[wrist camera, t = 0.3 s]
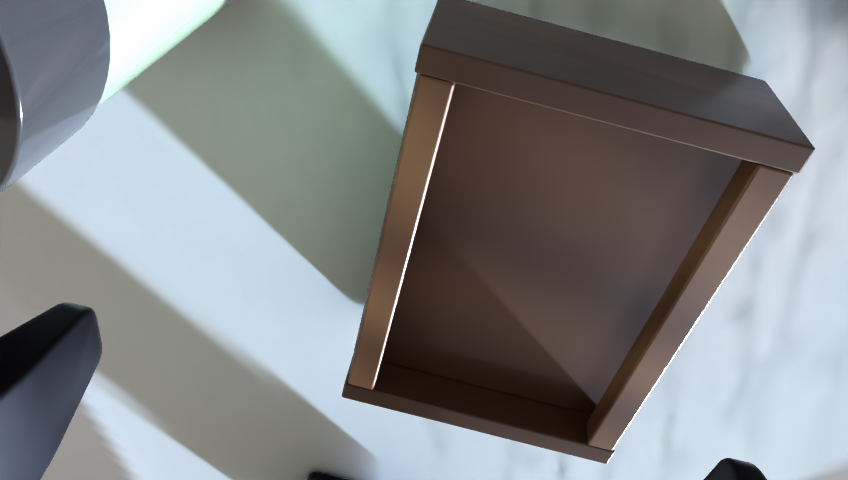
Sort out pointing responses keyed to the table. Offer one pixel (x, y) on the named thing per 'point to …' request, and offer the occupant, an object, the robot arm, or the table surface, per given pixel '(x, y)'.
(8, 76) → the spice jar
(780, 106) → the wooden tray
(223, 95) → the table surface
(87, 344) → the robot arm
